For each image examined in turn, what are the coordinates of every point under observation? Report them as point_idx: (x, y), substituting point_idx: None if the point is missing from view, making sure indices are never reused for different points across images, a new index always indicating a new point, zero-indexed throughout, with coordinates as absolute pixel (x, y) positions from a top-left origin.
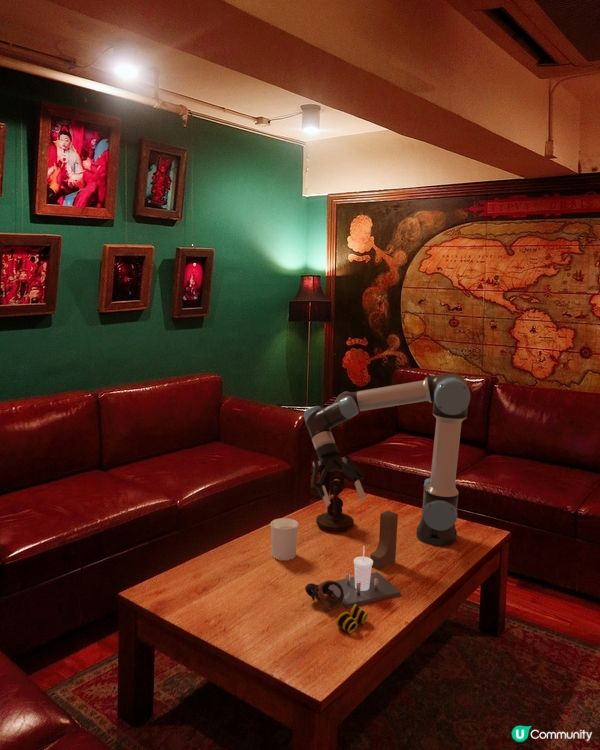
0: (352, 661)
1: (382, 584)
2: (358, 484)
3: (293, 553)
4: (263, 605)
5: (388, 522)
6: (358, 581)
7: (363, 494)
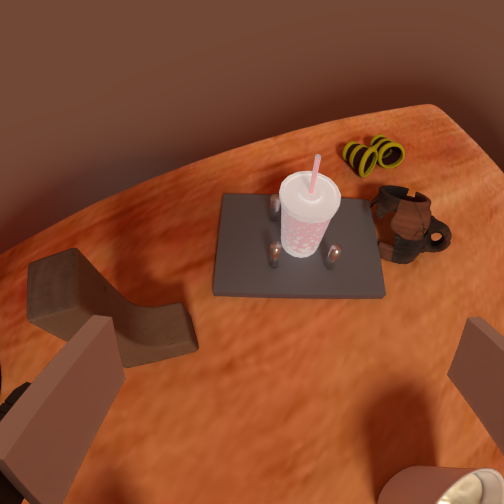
0: (392, 116)
1: (242, 232)
2: (40, 423)
3: (404, 474)
4: (499, 275)
5: (90, 267)
6: None
7: (94, 329)
